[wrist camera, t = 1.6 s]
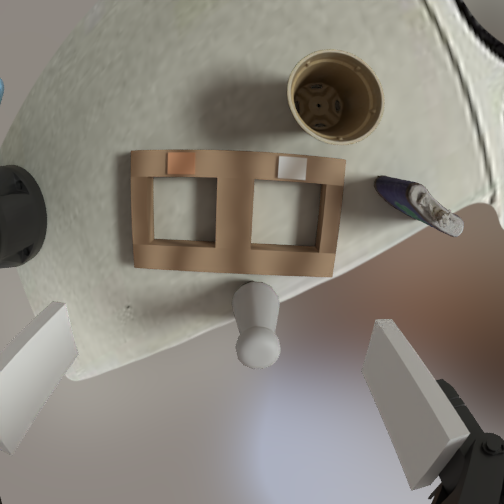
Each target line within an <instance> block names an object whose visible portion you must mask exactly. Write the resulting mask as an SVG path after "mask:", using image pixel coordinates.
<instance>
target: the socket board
mask: <svg viewBox="0 0 504 504" xmlns="http://www.w3.org/2000/svg"><path fill="white" fill-rule="evenodd" d="M345 165H346V160H344V159H336V158H327V157H318V156H308V155H296V154H284V153H270V152H252V151H230V150H135V151H131V216H132V238H133V254H134V267H135V268H147V269H163V270H180V271H198V272H217V273H238V274H259V275H283V276H310V277H332V275H333V268H334V261H335V254H336V247H337V240H338V232H339V224H340V215H341V207H342V197H343V187H344V177H345ZM153 177H215V178H217V206H216V242H213V241H190V240H167V239H154V212H153ZM254 179H261V180H277V181H292V182H305V183H317V184H321V195H320V205H319V215H318V225H317V234H316V243H315V246H296V245H276V244H256V243H251V233H252V214H253V196H254Z"/></svg>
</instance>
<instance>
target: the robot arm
mask: <svg viewBox="0 0 504 504" xmlns="http://www.w3.org/2000/svg"><path fill="white" fill-rule="evenodd" d="M3 93H4V84H3V81H2V79H1V78H0V104H1V100H2V96H3ZM46 228H47V214H46V207H45V202H44V198H43V195H42V193H41V190H40V188H39V186H38V184H37V182H36V181H35V179H34V178H33V177H32V176H31V175H30V173H28V172H27V171H26V170H25V169H23V168H21V167H19V166H16V165H6V166H0V268H9V267H17V266H20V265H23V264H24V263H26V262H28V261H29V260H31V259H32V258H34V257H35V256H36V255H37V253H38V252H39V251H40V249H41V247H42V245H43V242H44V239H45V235H46ZM78 355H79V354H78V350H77V347H76V343H75V339H74V336H73V332H72V328H71V323H70V319H69V315H68V310H67V306H66V303H61V302H52V303H50V304H49V305H48V306H47V307H46V308H45V309H44V310H43V311H42V312H41V313H40V314H39V315H37V316H36V317H35V318H34V319H33V320H32V321H31V322H30V323H29V324H28V325H27V326H26V327H25V328H24V329H23V330H22V331H21V332H20V333H19V334H18V335H17V336H16V337H15V338H14V339H13V340H12V341H11V342H10V343H9V344H8V345H7V346H6V347H5V348H4V349H3V350H2V351H1V352H0V450H1V451H4V452H6V453H7V454H9V455H11V456H13V454H14V452H15V451H16V449H17V447H18V446H19V444H20V442H21V440H22V439H23V437H24V436H25V434H26V432H27V431H28V429H29V428H30V426H31V425H32V423H33V421H34V420H35V418H36V417H37V415H38V414H39V412H40V410H41V409H42V407H43V406H44V404H45V403H46V401H47V400H48V398H49V397H50V395H51V394H52V392H53V391H54V389H55V388H56V386H57V385H58V383H59V382H60V380H61V379H62V377H63V376H64V375H65V373H66V372H67V370H68V369H69V367H70V366H71V365H72V363H73V362H74V360H75V359H76V357H77V356H78ZM361 372H362V374H363V376H364V378H365V380H366V383H367V385H368V387H369V389H370V392H371V394H372V396H373V398H374V401H375V403H376V405H377V408H378V410H379V412H380V415H381V417H382V419H383V422H384V424H385V426H386V429H387V431H388V434H389V436H390V438H391V441H392V443H393V446H394V448H395V450H396V453H397V455H398V458H399V460H400V463H401V465H402V468H403V471H404V473H405V475H406V478H407V481H408V483H409V486H410V488H411V490H415V489H418V488H422V487H425V486H428V485H431V483H432V482H433V481H434V480H435V479H436V478H437V477H438V475H439V477H440V479H441V481H442V482H441V484H440V485H439V486H438V487H437V488H436V489H435V490H434V491H433V492H432V493H431V495H430V496H429V498H428V499H431V498H432V497H433V496H434V495H435V496H434V499H433V501H432V503H431V504H504V440H503V439H502V438H501V437H500V436H498V435H496V434H494V433H484V432H483V430H482V429H481V428H480V426H479V424H478V423H477V421H476V420H475V418H474V417H473V415H472V414H471V413H470V411H469V409H468V408H467V407H466V406H464V402H463V401H462V399H461V398H459V395H458V394H457V392H456V391H455V389H454V388H453V387H452V386H451V385H450V384H448V383H447V382H446V381H444V380H443V379H440V380H435V379H434V377H433V376H432V374H431V373H430V372H429V370H428V369H427V367H426V366H425V364H424V363H423V362H422V360H421V359H420V357H419V356H418V354H417V353H416V352H415V350H414V349H413V347H412V346H411V345H410V343H409V342H408V341H407V339H406V338H405V336H404V335H403V334H402V332H401V331H400V330H399V328H398V327H397V326H396V324H395V323H394V322H393V320H392V319H381V320H375V324H374V328H373V332H372V336H371V340H370V343H369V347H368V351H367V354H366V358H365V361H364V365H363V368H362V371H361ZM0 504H2V502H1V498H0Z"/></svg>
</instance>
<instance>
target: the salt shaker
mask: <svg viewBox="0 0 504 504" xmlns="http://www.w3.org/2000/svg"><path fill="white" fill-rule="evenodd" d="M232 307H233V312H234V316H235V319H236V322H237V325H238V329H239V332H240V336H239V337H238V340H237V344H236V352H237V356H238V359H239V360H240V362H241V363H242V364H243V365H245V366H247V367H250V368H252V369H263V368H266V367H269V366H271V365H272V364H273V363H274V362H276V361H277V359H278V357H279V355H280V343H279V338H278V337H277V336H276V334H275V330H276V324H277V318H278V312H279V298H278V295H277V293H276V292H275V291H274V289H273V288H272V287H271V286H269V285H267V284H265V283H263V282H255V281H252V282H249V283H247V284H244V285H242V286H241V287H240V288H239V289H238V290H237V291H236V292H235V294H234V297H233V301H232Z"/></svg>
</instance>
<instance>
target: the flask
mask: <svg viewBox="0 0 504 504" xmlns="http://www.w3.org/2000/svg"><path fill="white" fill-rule="evenodd" d="M374 187H375V189H376V191H377V192H378V194H379V195H380V196H381V197H382V198H383V199H384V200H385V201H386V202H388V203H389V204H390V205H391V206H393V207H394V208H395V209H398V210H400V211H401V212H403V213H405V214H406V215H408V216H410V217H412V218H414V219H416V220H419V221H421V222H423V223H425V224H427V225H430V226H431V227H434V228H436V229H437V230H439V231H441V232H443V233H445V234H448V235H450V236H452V237H457V236H458V235H460V234H461V233H462V231H463V227H464V225H463V224H464V222H463V220H462V219H461V218H460V217H459V216H457V215H456V214H453V213H451V210H447V209H446V208H444V207H443V206H442V205H441V204H440V203H439V202H437V201H436V200H435V199H434V198H433V197H432V196H431V194H430V193H429V192H428V190H427V189H426V188H425V187H424V186H423V185H422V184H419V183H416V182H411V181H406V180H401V179H397V178H391V177H387V176H378V178H377V179H376V181H375V184H374Z"/></svg>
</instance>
